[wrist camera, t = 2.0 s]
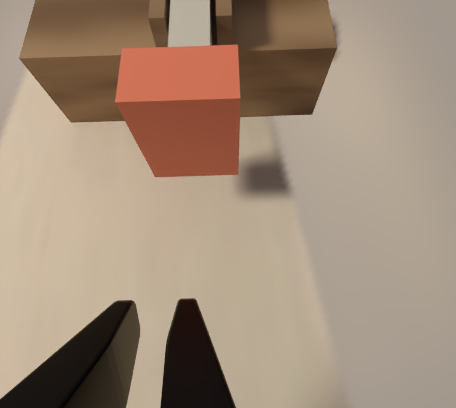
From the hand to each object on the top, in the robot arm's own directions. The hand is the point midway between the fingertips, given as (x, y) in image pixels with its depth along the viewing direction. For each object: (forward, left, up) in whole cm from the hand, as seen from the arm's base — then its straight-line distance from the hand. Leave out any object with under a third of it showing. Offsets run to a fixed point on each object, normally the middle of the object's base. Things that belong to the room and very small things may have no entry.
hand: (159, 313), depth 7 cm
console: (+18, +1, -12) cm, 22 cm away
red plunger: (+14, 0, -7) cm, 15 cm away
